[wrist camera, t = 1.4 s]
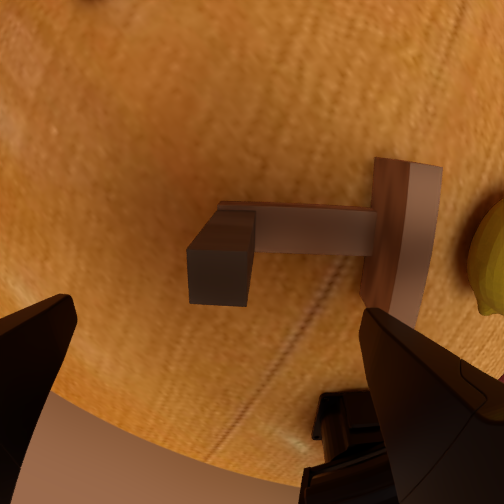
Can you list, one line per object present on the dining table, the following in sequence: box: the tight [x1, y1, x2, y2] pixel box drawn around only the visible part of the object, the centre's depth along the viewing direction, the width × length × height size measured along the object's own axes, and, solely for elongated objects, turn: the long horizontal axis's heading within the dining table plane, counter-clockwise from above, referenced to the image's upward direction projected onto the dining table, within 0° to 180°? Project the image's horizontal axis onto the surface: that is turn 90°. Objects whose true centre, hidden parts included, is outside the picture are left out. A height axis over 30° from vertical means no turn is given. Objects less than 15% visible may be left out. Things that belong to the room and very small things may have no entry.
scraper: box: [186, 157, 443, 329], centre depth 17 cm, size 10×12×10 cm
